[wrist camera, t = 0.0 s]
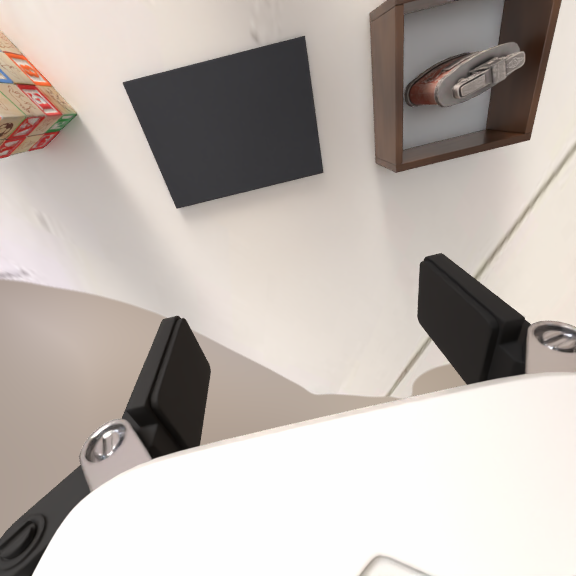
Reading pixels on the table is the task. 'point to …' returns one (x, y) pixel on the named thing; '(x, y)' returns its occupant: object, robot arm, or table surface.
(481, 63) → the lighter
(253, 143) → the charcoal mat
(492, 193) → the table surface
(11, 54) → the stack of blocks
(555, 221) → the table surface
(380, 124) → the walnut box
